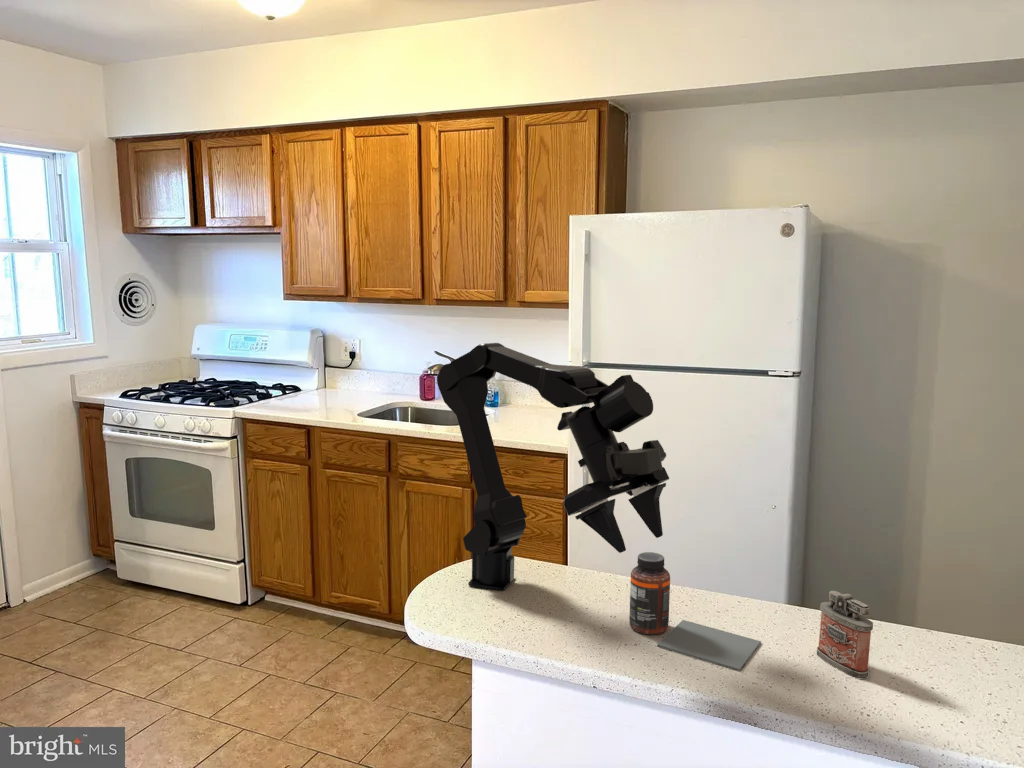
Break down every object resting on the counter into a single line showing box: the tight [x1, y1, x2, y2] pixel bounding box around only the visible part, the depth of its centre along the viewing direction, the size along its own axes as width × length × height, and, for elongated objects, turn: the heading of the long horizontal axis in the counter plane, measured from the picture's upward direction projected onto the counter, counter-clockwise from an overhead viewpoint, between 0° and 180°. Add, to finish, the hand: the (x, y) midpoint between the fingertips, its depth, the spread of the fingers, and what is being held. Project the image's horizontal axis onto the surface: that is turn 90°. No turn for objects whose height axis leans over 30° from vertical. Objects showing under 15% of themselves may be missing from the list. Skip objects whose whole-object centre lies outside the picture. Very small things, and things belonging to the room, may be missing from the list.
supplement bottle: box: [628, 551, 671, 635], centre depth 115 cm, size 6×6×11 cm
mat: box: [656, 619, 762, 672], centre depth 110 cm, size 12×10×1 cm
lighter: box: [816, 590, 874, 679], centre depth 105 cm, size 8×3×10 cm, turn 23°
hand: (641, 544), depth 108 cm, fingers open, 9 cm apart
